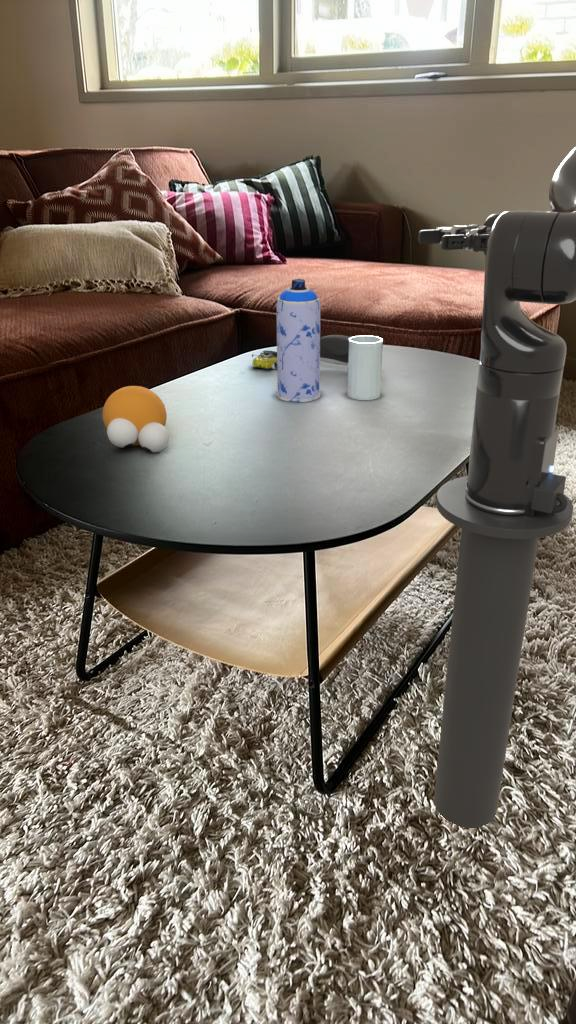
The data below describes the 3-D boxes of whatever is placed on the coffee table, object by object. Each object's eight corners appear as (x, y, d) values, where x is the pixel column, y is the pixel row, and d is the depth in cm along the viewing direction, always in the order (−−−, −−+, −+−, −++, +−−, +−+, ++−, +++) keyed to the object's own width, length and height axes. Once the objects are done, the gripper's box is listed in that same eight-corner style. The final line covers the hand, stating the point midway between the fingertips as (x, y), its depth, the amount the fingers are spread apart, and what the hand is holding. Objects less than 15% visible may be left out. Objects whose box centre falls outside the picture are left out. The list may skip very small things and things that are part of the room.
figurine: (379, 380, 153) (314, 358, 158) (390, 332, 148) (322, 311, 153) (363, 390, 147) (297, 367, 152) (374, 340, 142) (305, 318, 147)
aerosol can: (294, 386, 141) (293, 274, 132) (329, 393, 137) (331, 278, 128) (267, 396, 135) (265, 280, 127) (303, 404, 131) (303, 285, 122)
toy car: (292, 359, 158) (292, 345, 157) (271, 371, 150) (271, 356, 149) (270, 357, 160) (270, 343, 159) (248, 369, 152) (248, 354, 151)
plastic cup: (386, 397, 135) (389, 341, 130) (357, 401, 132) (359, 344, 128) (369, 388, 139) (371, 334, 135) (341, 393, 137) (342, 337, 133)
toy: (94, 448, 120) (109, 452, 106) (95, 386, 119) (109, 382, 105) (153, 449, 124) (175, 453, 110) (154, 389, 122) (176, 385, 109)
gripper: (495, 209, 136) (413, 212, 132) (542, 216, 124) (453, 219, 120) (491, 253, 139) (410, 257, 135) (536, 264, 127) (449, 269, 123)
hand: (430, 239), depth 127 cm, fingers open, 8 cm apart
